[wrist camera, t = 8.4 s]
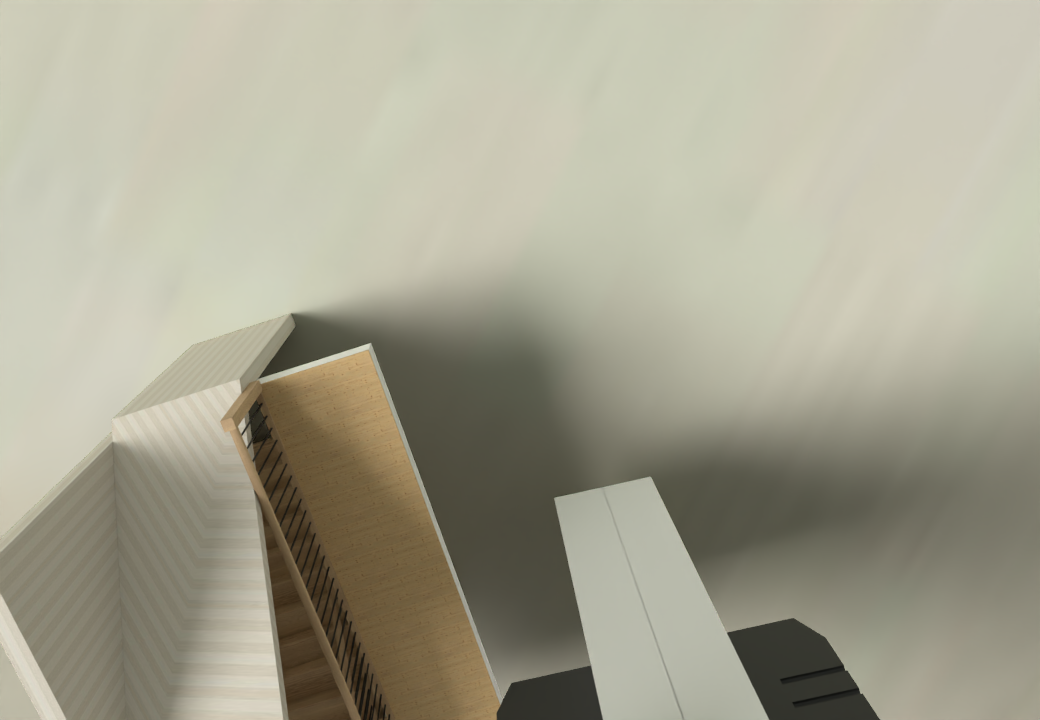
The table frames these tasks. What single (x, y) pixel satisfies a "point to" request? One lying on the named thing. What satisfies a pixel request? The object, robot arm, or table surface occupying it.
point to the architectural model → (244, 557)
